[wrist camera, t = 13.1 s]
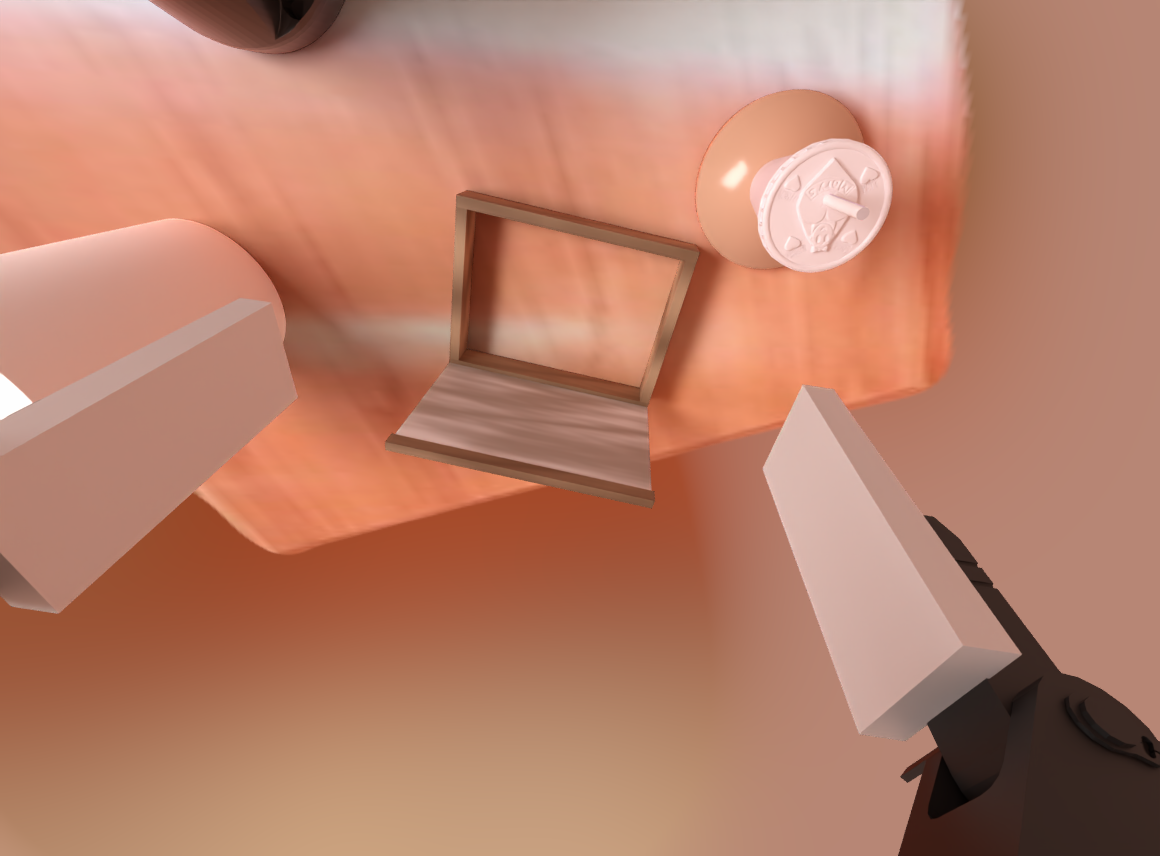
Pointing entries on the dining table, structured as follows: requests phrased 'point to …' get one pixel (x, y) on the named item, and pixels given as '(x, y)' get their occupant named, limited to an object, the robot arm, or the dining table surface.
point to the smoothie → (821, 203)
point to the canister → (112, 300)
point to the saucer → (759, 164)
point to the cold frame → (541, 385)
